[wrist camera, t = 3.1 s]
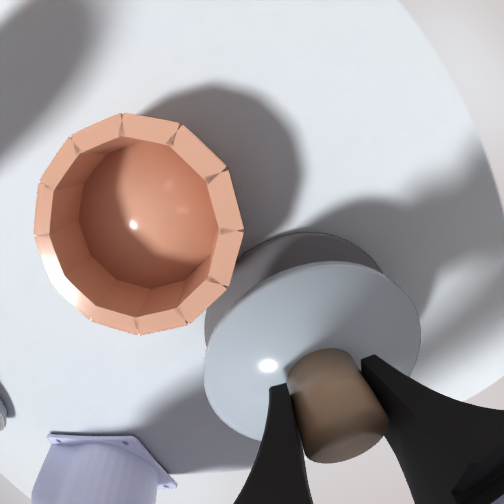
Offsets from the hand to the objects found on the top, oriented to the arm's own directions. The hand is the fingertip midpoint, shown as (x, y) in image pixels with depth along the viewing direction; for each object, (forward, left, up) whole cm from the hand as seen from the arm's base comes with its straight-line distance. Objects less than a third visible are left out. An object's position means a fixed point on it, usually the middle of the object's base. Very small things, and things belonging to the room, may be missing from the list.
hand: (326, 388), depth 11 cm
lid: (0, 0, -2) cm, 2 cm away
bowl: (-5, +8, -5) cm, 11 cm away
